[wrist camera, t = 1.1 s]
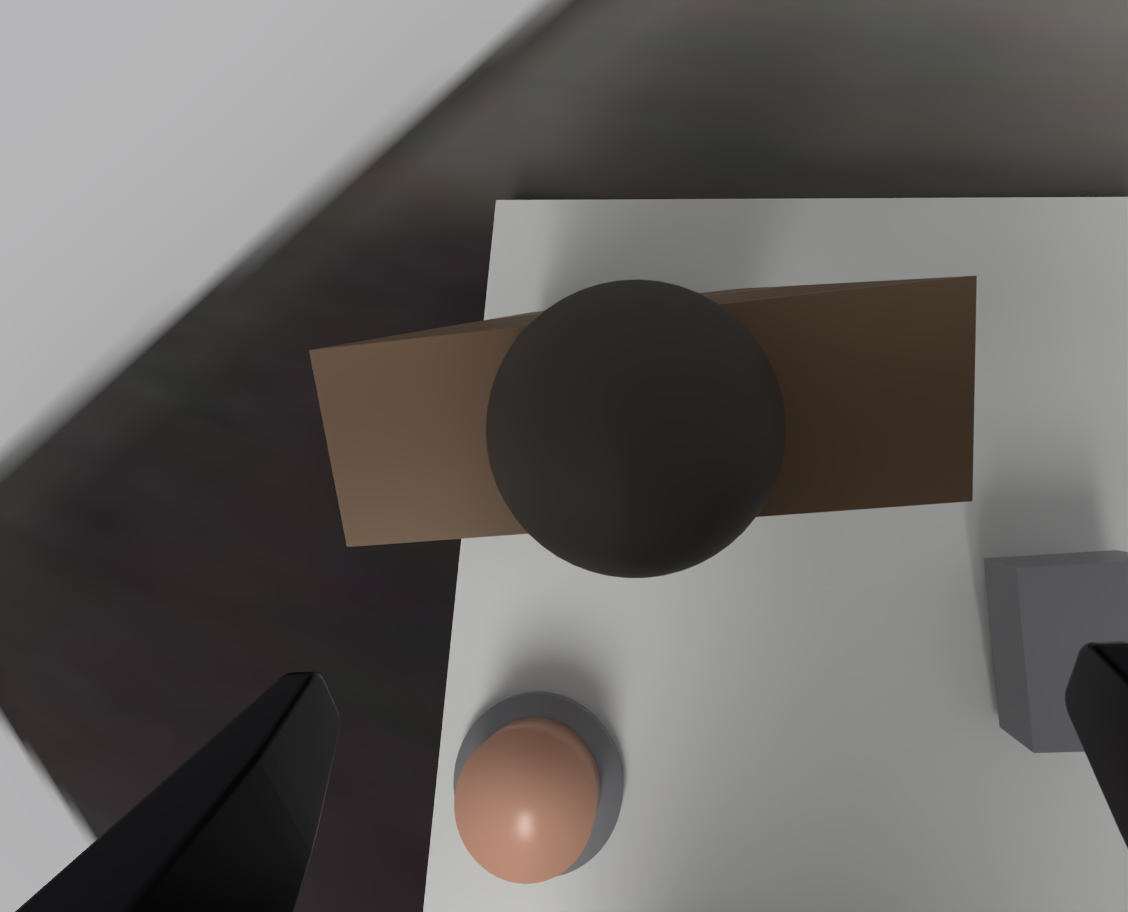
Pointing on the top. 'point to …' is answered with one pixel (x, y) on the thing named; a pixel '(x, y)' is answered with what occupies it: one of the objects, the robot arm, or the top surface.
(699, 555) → the walnut lever
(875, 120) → the top surface
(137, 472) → the top surface
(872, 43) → the top surface
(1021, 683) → the grey rectangular block
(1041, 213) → the control panel
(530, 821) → the terracotta button
